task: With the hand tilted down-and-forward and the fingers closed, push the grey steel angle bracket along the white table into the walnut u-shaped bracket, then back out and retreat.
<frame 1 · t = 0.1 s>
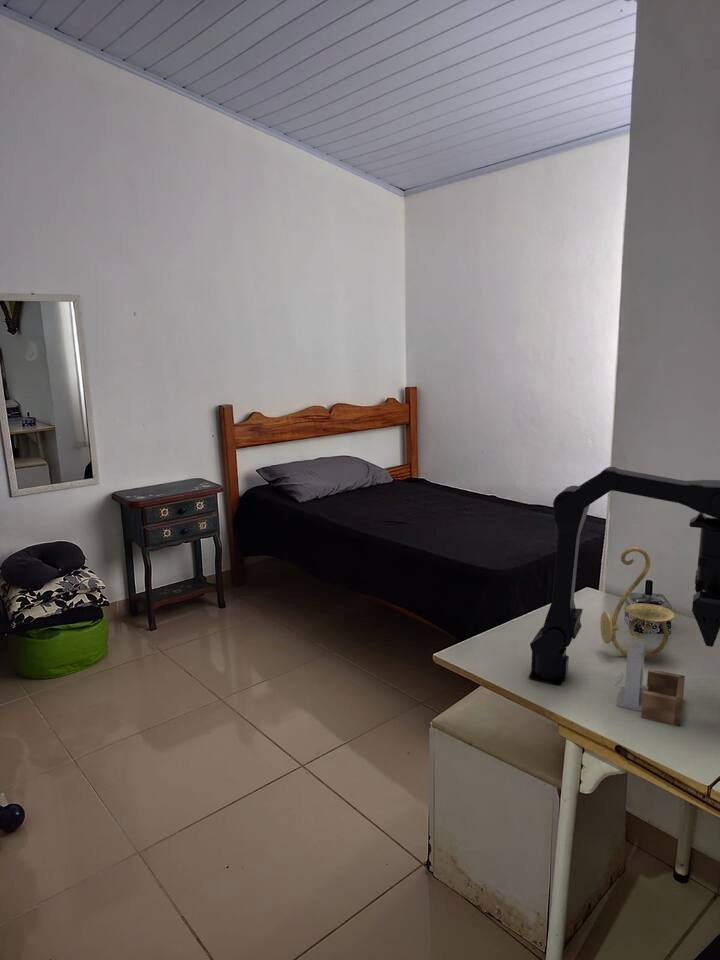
hand: (709, 636, 115), 15 cm above the table, tool pointing down, fingers open, 9 cm apart
angle bracket: (634, 674, 120), point 6 cm above the table, slide at 0.0 cm
walnut u-shaped bracket: (662, 709, 119), on the table
wall sconce: (635, 658, 139), on the table
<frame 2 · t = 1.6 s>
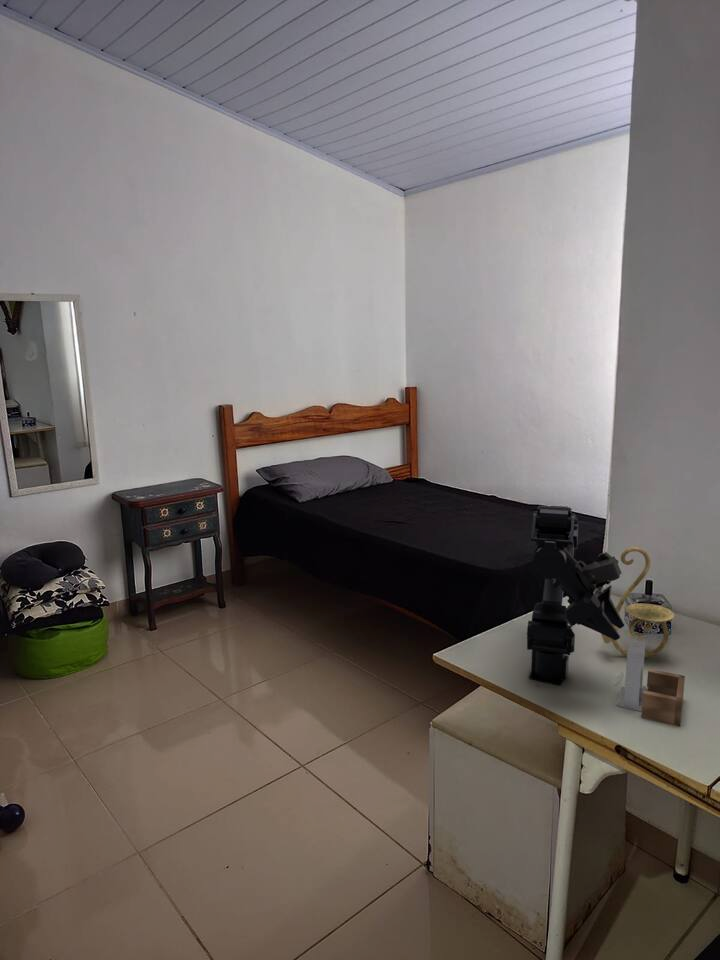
hand: (620, 632, 120), 14 cm above the table, tool tilted 45°, fingers open, 6 cm apart
nothing on the table moved.
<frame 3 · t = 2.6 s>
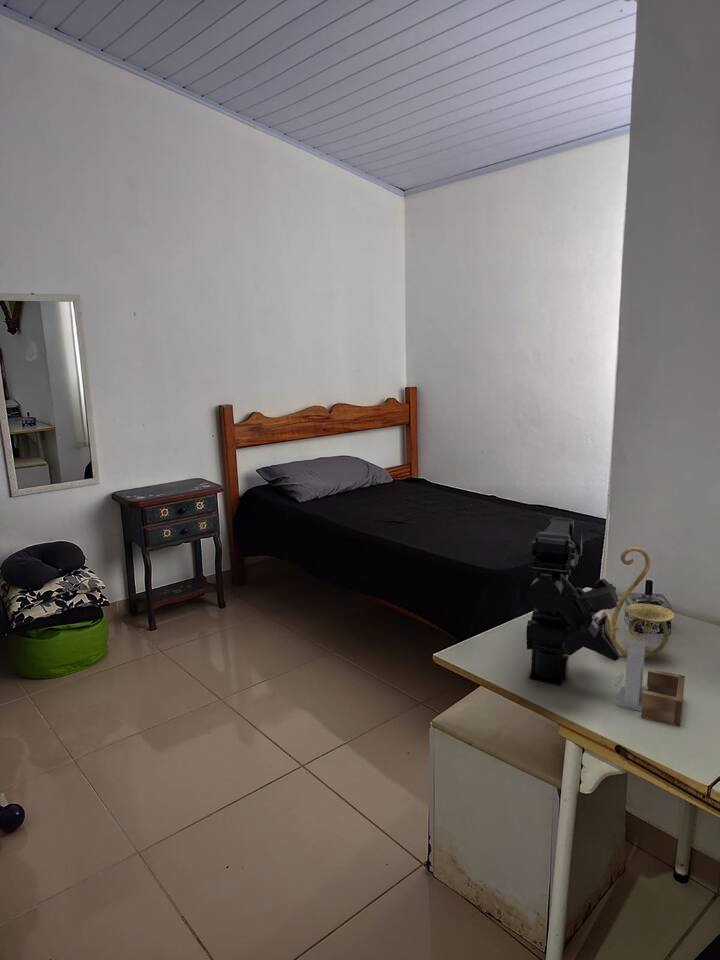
hand: (617, 659, 121), 8 cm above the table, tool tilted 45°, fingers closed
nothing on the table moved.
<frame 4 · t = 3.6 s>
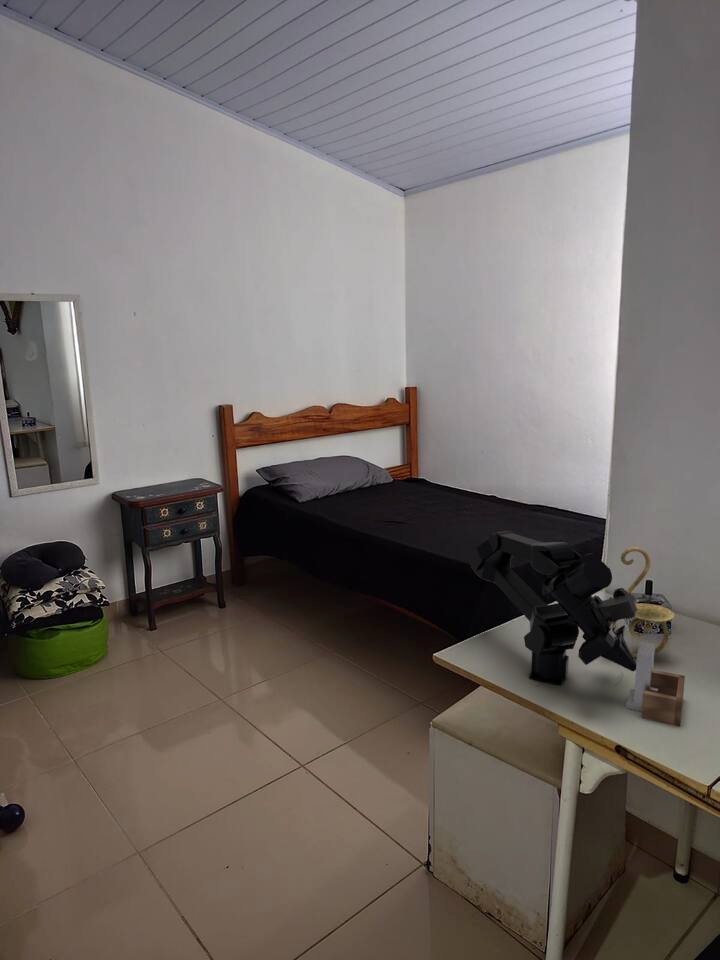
hand: (635, 669, 120), 7 cm above the table, tool tilted 45°, fingers closed
angle bracket: (644, 676, 119), point 6 cm above the table, slide at 1.7 cm, touching gripper
everything else where it was.
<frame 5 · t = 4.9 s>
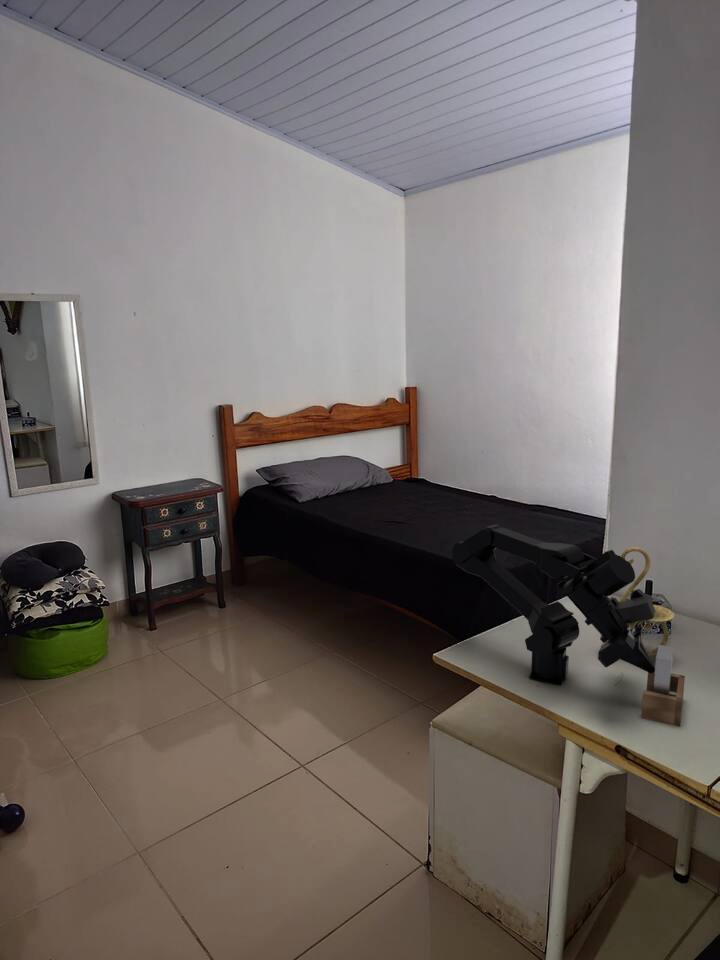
hand: (654, 671, 118), 7 cm above the table, tool tilted 45°, fingers closed
angle bracket: (662, 680, 118), point 6 cm above the table, slide at 4.8 cm, touching walnut u-shaped bracket
everything else where it was.
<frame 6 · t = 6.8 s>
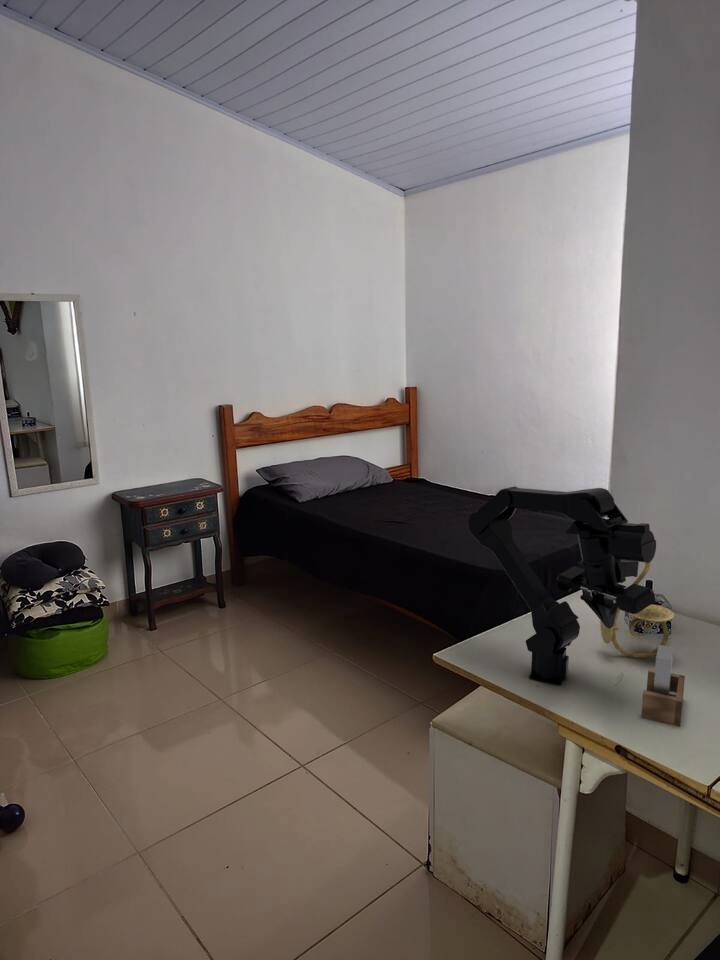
hand: (609, 627, 125), 13 cm above the table, tool pointing down, fingers closed
nothing on the table moved.
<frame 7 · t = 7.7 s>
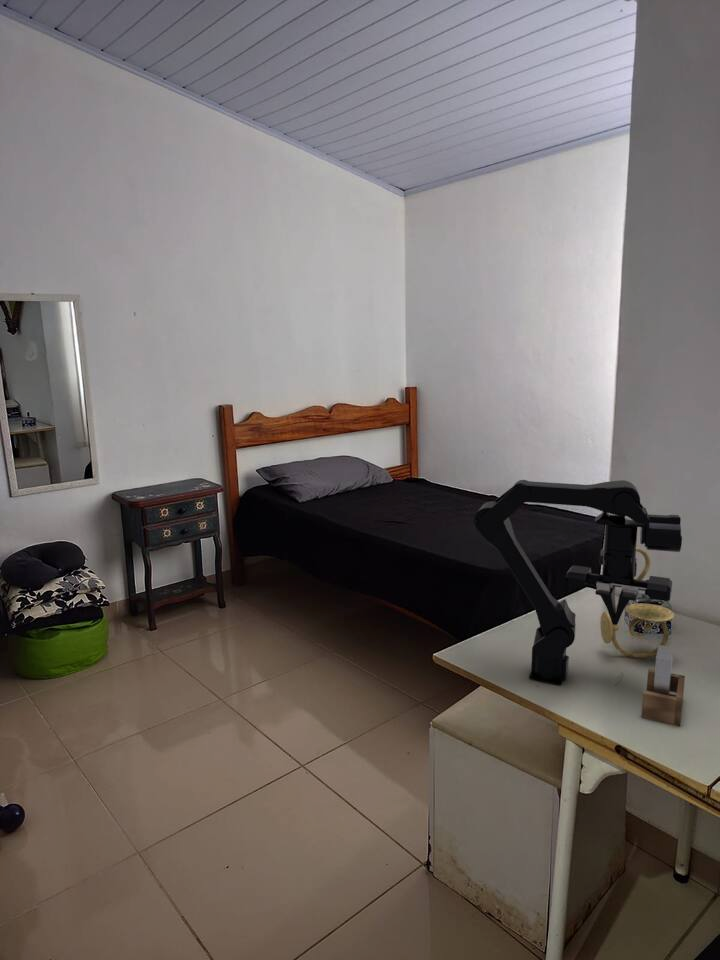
hand: (615, 624, 125), 13 cm above the table, tool pointing down, fingers closed
nothing on the table moved.
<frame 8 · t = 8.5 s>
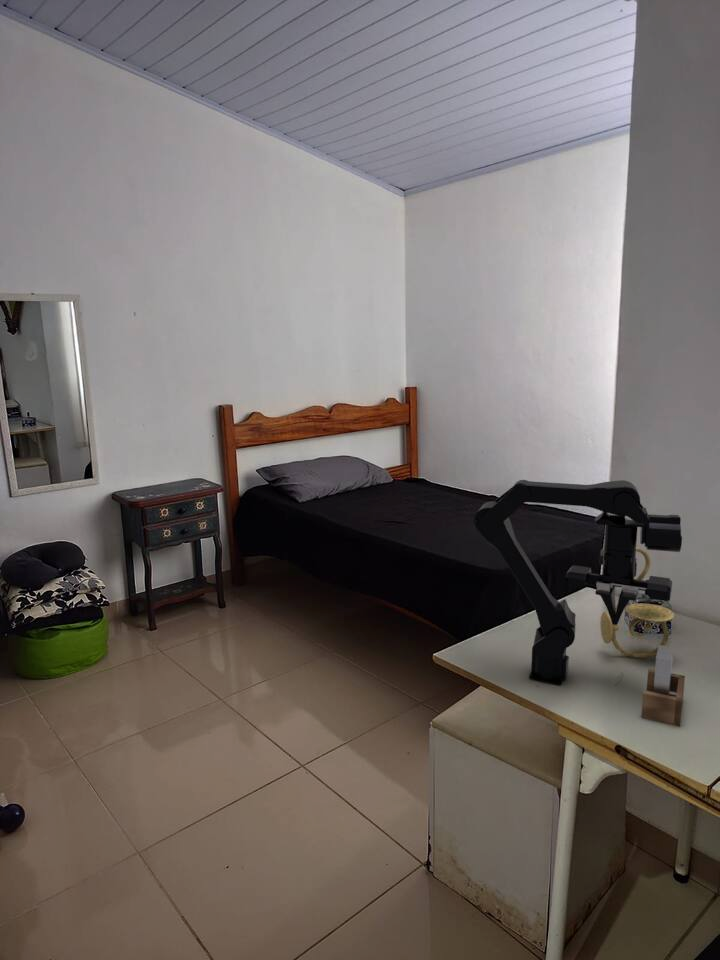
hand: (615, 624, 125), 13 cm above the table, tool pointing down, fingers closed
nothing on the table moved.
at the end: angle bracket slide at 4.8 cm; the gripper is holding nothing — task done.
